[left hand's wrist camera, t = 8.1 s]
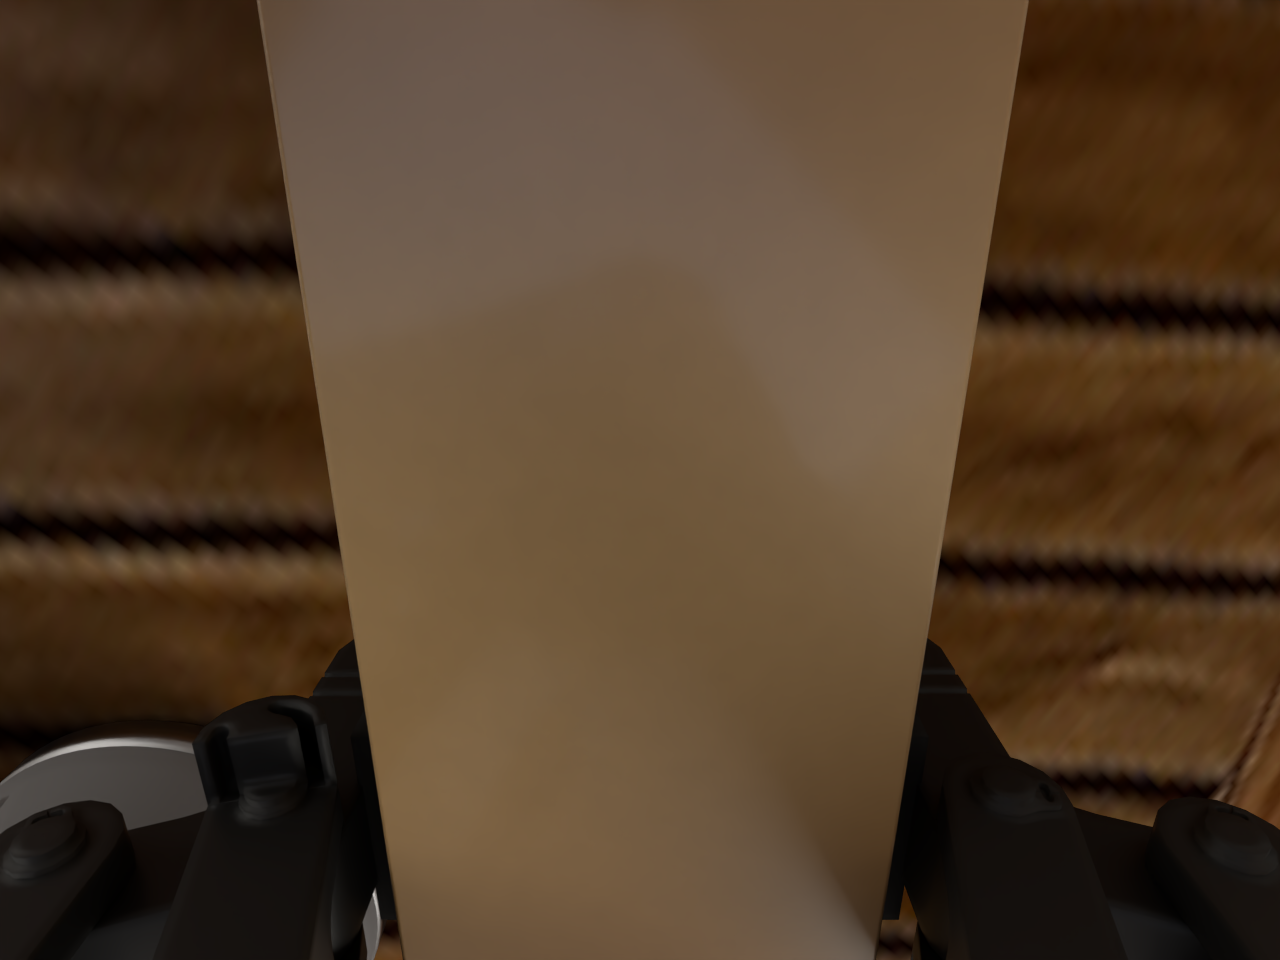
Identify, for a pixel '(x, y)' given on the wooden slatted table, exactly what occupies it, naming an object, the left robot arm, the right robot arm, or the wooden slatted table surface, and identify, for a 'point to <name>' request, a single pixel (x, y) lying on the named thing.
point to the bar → (641, 441)
